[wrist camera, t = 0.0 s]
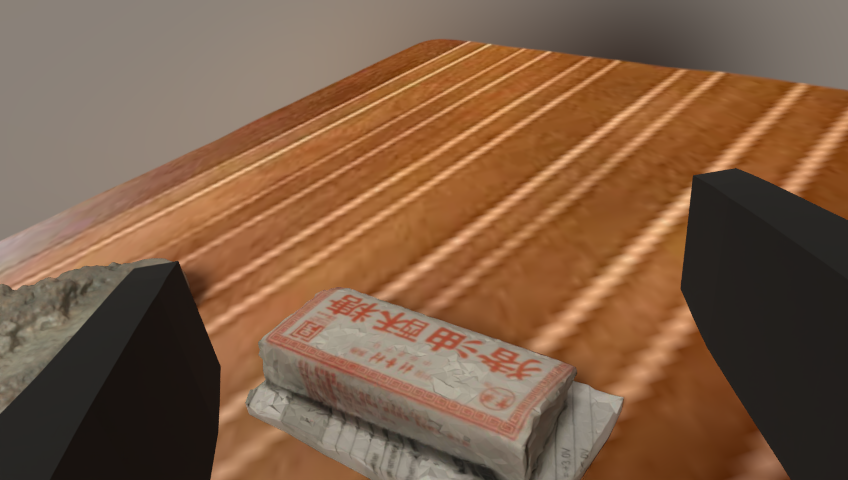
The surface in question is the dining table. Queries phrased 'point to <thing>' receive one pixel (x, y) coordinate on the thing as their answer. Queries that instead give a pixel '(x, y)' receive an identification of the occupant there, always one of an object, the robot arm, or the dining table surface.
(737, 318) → the robot arm
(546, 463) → the packaged product
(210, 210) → the dining table surface
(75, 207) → the dining table surface
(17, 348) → the long grey stone
